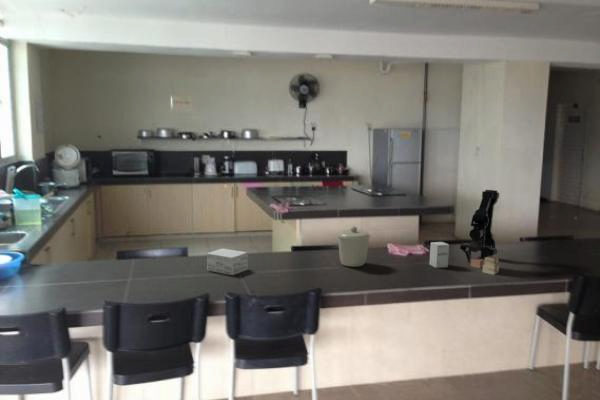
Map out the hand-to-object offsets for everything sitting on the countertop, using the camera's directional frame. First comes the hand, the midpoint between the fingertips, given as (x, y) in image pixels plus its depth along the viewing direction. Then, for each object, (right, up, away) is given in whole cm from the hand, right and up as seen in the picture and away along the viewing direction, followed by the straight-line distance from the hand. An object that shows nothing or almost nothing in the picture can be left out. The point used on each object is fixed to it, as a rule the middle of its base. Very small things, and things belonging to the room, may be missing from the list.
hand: (477, 264), depth 280 cm
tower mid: (+3, +1, -11) cm, 12 cm away
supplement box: (-21, -1, 0) cm, 21 cm away
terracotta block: (0, -1, 0) cm, 1 cm away
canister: (-68, 0, -1) cm, 68 cm away
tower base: (+3, -3, -11) cm, 12 cm away
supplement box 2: (-134, -1, -14) cm, 135 cm away
